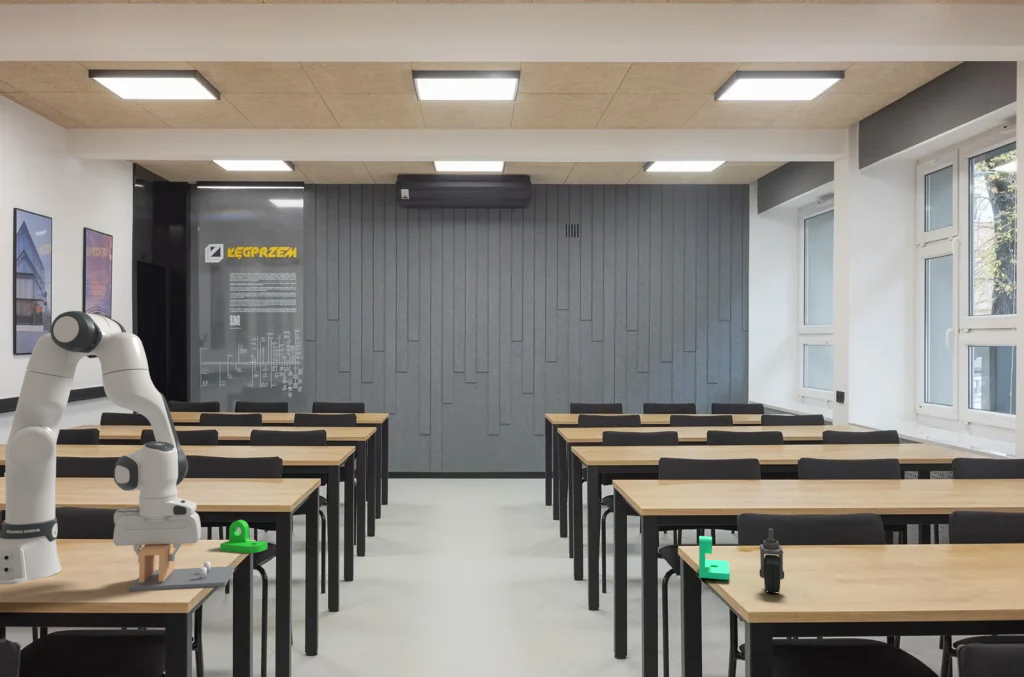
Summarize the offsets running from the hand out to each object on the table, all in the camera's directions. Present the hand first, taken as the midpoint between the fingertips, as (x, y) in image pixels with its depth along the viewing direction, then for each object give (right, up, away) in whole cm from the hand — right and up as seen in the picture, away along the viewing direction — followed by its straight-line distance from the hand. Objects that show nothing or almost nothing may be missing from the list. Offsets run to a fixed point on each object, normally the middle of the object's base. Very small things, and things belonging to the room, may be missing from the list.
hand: (157, 561), depth 189 cm
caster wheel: (+154, -7, -4) cm, 154 cm away
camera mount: (+144, -7, +9) cm, 144 cm away
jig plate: (+6, -6, +2) cm, 9 cm away
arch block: (0, -4, 0) cm, 4 cm away
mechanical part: (+10, -7, +33) cm, 35 cm away
